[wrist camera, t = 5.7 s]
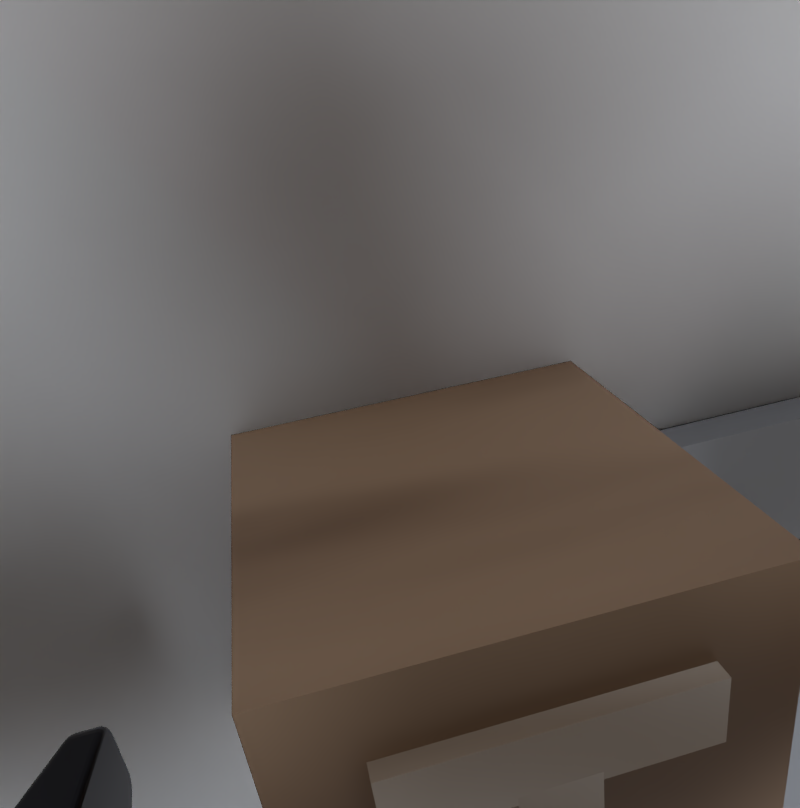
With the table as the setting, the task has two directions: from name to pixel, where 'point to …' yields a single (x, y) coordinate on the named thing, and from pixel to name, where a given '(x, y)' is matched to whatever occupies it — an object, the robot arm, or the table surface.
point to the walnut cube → (506, 609)
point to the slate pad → (756, 484)
